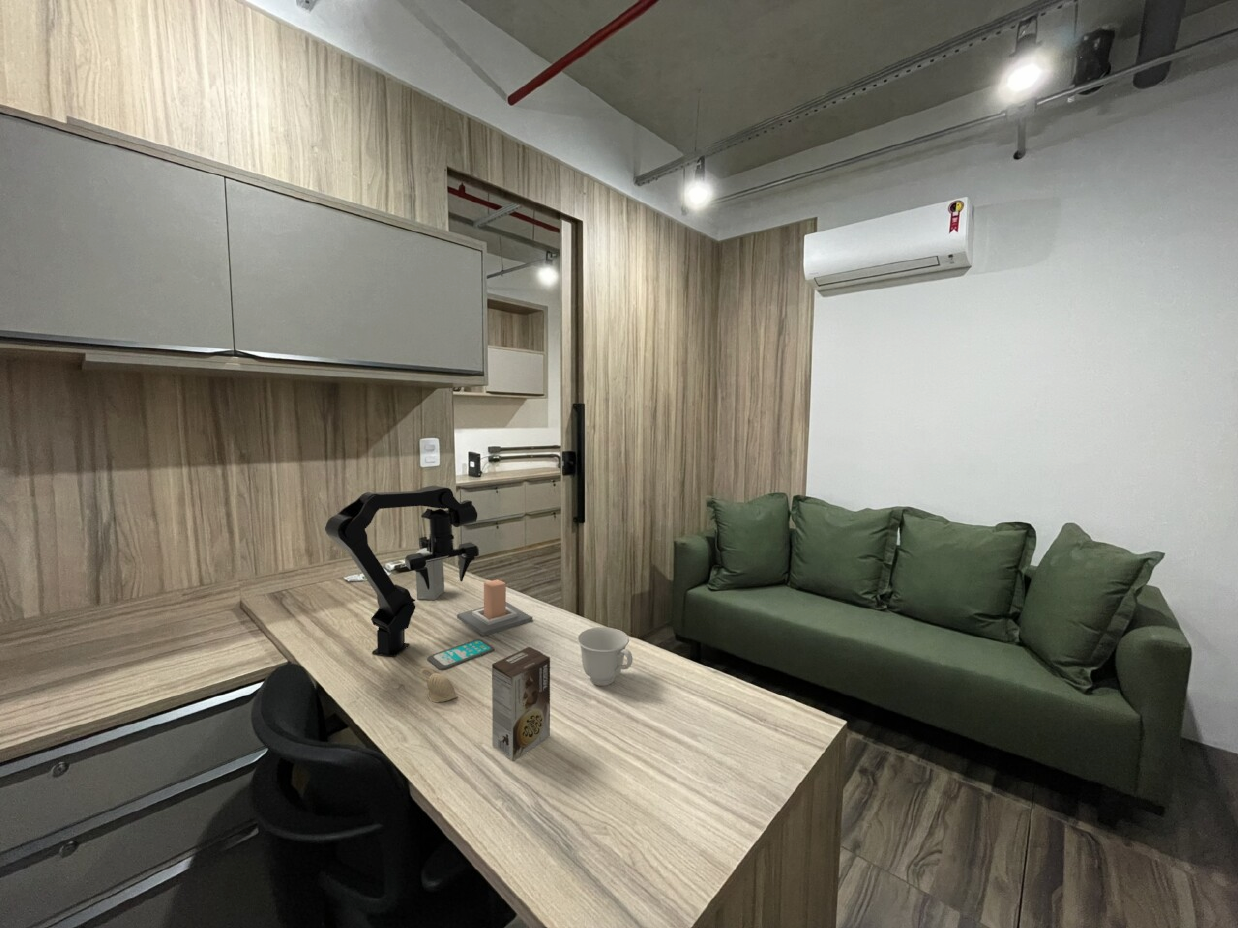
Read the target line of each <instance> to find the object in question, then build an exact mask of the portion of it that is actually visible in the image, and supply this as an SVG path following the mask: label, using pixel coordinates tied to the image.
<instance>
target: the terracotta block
mask: <svg viewBox="0 0 1238 928" xmlns="http://www.w3.org/2000/svg"><path fill="white" fill-rule="evenodd" d="M506 588H507V587H506V582H504V581H502V580H500V579H493V580H488V581H486V582H483V607H484V616H486V617H488V618H489V619H494V618H497V617H500V616H504V615H506V602H507V599H506V595H507V594H506V593H507V592H506V591H507V590H506Z"/></svg>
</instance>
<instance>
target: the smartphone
mask: <svg viewBox="0 0 1238 928" xmlns="http://www.w3.org/2000/svg"><path fill="white" fill-rule="evenodd" d="M494 650H495V647H494V646H492V645H491V644H489V643H488V642H486V641H485V640H483V639H482V638H476V639H472V640H470V641H467V642H464V643H462V644H459V645H456V646H453V647H450V648H449V647H448V648H447V649H444V650H441V651H439V652H435V653H433V654H430V655H429V656H427V657H426V660H427V662H428V663H429V664H431V665H432V666H433V667H435V668H436V669H437V670H439V671H445V670H448V669H451V668H454V667H456V666H459V665H461V664H464V663H467V662H470V661H471V660H475V659H477V658H480V657H484V656H486V655H488V654H490V653H492V652H494Z"/></svg>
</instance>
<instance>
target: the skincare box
mask: <svg viewBox="0 0 1238 928" xmlns="http://www.w3.org/2000/svg"><path fill="white" fill-rule="evenodd" d="M415 553H421V554H422V555H423V556H425V555H430V554H432V552H431V553H430V552H429V551H427V548H424V549H419V550H418V551H417V552H415ZM425 567H426V568H427V569H428V576H429V584H430V587H429V589H427V588H426V585H425V583H424V581H423V579H422V577H421V575H420V573H419V572H415V583H416V584H415V587H416V600H428V601H429V600H432V601H436V600H437V599H438V598H439V597H440V596H441V595H443V593H444V592H445V578H444V559H440V560H435V561H431V562H426V565H425Z"/></svg>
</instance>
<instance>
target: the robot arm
mask: <svg viewBox="0 0 1238 928" xmlns="http://www.w3.org/2000/svg"><path fill="white" fill-rule="evenodd" d="M408 507H410V508H411V507H428V508H426V510H425V511H424V512H423V513H422V514H421V519H422V518H423V519H426V520H428V521H429V522H428V523H429V531H430V532H429V538H427V536H423V537H419V538H418V545H419V550H421V549H424V548H427V551H429V552H430V553H431V552H432V554H430V555H425V556H423V555H422V554H421V553H416V552H414V553H410V554H406V556H405V558H404V562H405V563H404V565H405V566H406V567H407V568H408V569H409V570H410V571H414V572H415V573H416V572H419V573H420V575H421V577H422V579H423V581H424V583H425V585H426V588H427V589H429V587H430V584H429V576H428V569H427V568H426V567H425V565H426V562H431V561H435V560H440V559H443V560H444V559H449V558H452V557H458V561H459V562H458V563H459V571H458V573H459V574H458V575H459V581H460V582H463V581H464V578H465V575H466V573H467V570H468V568H469V566H470V565H471V563H472V561H473V560H475V558H476V557H479V556H480V550H479V547H478V545H475V544H474V543H473V542H471V541H470V542H465V543H459V544H458V548H454V538H455V537H454V536H455V535H454V534H453V527H455V528H460V527H463V526H467V525H469V524H470V525H471V524H473V523H476V522H477V520H478V511H477V510H476V508H475V506H474V505H473V502H472V500H468V499H467V500H463V501H459V500H457V499H456V497H455V496H454V493H453V491H452V489H451V488H449V487H445V486H438V485H429V486H425V487H421V488H420V489H416V490H407V491H384V492H383V491H381V492H380V491H379V492H370V491H367V492H364V493H362V494H360V496H358V498H357V499H356V500H354V501H353V502H351V503H349V504H348V505H347V506H345V507H343V508H342V509H341V510H340V511H339V512H338V513H337V514H335V515H332V516H331V517H330V518H329V519H328V520H327V522H326V524H325V526H324V530H325V532H326V535H327V536H328V537H329V538H331V540H332V541H333V542H335V544H337V545H338V546H340V547H341V549H343V550H345V551H346V552H347V553H348V554H349V556H350V557H351V559H352V560H353V562H354V563H355V565H356V566H357V567H358V569H359V570H360V572H361V573H362V575H363V576H364V577H365V579H366V580H367V582H368V583H369V585H370V586H371V588H372V589H373V591H374V592H375V593H376V596H377V599H376V600H377V601H376V602H377V604H378V607H379V608H378V609H377V610H376V611H375V613H374V615H373V616H371V618H370V620H371V622H372V625H373V626H375V627H378V629H377V630H376V632H377V633H376V634H377V635H376V638H377V641H376V642H377V643H376V644H377V647H376V648H375V649H374V650H372V654H373V655H378V656H387V657H396V656H397V655H399V654H400V653H402V652H403V651H404V650H405V649H407V648H408V647H409V646H410V642H405V635H406V634H405V632H406V631H405V630H407V629H408V628H410V627H409V626H410V623H411V620H412V616H413V615H414V613H415V610H416V605H415V603H414V602H416V599H414V598H413V597H412V595H411V593H410V591H409V589H408V588H405V587H404V586H400V585H398V584H394V582H393V580H392V579H391V578H390V576H389V575H388V573H387V572H386V570H385V568H384V567H383V565H382V564H381V563H380V561H379V559H378V558H377V556H376V555H375V553H374V552H373V550H372V549H371V547H370V546H369V541H368V533H367V531H366V529H367V527H369V525H370V524H371V523H372V521H373V520H374V518H375V515H376V514H377V512H378V511H380V509H382V510H383V509H394V508H395V509H397V508H408ZM430 508H434V509H430ZM445 509H446V510H445Z"/></svg>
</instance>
